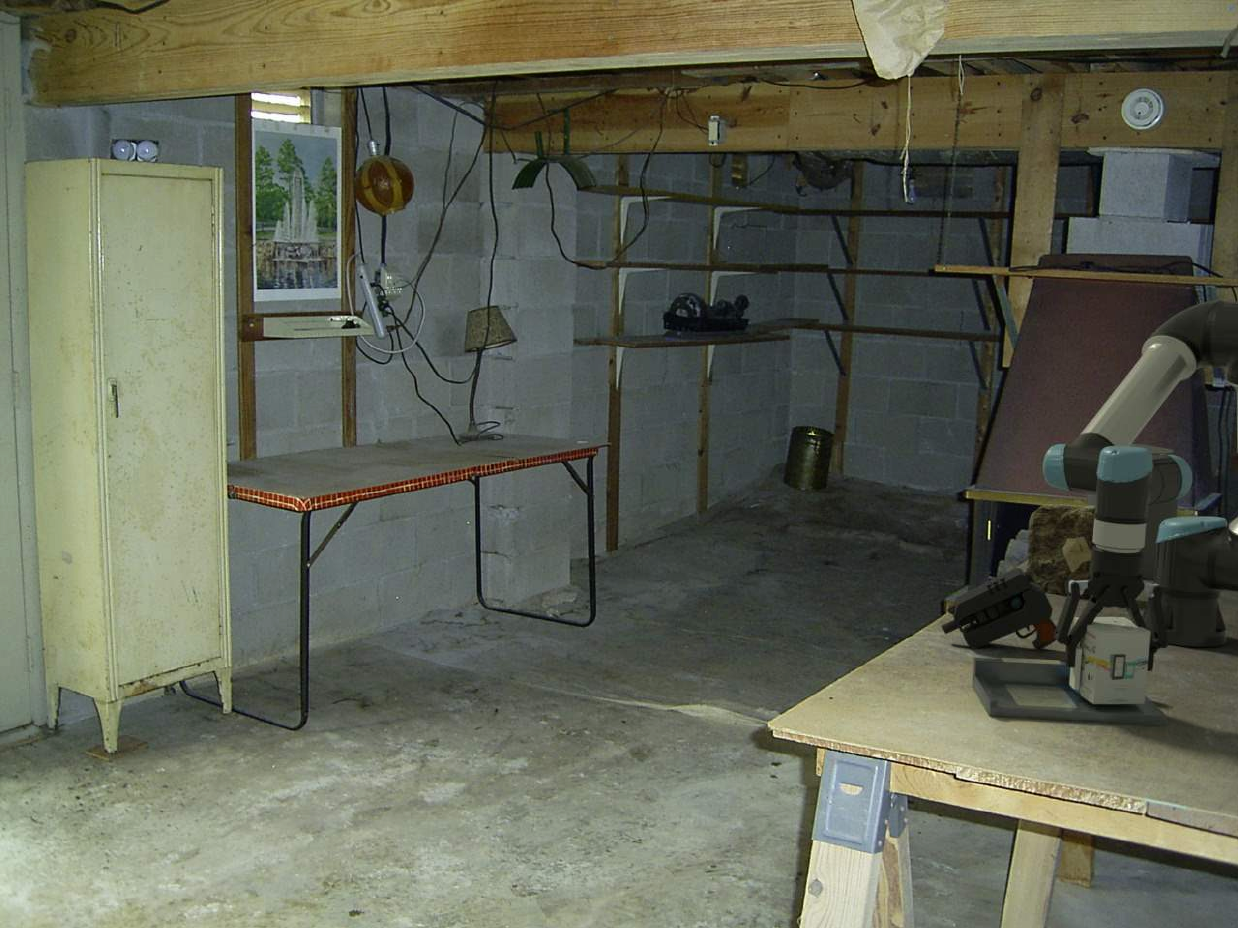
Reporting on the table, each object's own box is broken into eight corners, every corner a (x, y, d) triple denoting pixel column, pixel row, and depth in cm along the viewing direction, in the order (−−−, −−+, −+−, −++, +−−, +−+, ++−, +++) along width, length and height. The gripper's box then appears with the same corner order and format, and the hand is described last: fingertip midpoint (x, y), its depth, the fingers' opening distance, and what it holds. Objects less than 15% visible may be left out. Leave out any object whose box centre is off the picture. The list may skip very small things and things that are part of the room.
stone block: (1112, 593, 266) (1119, 503, 263) (1112, 602, 258) (1119, 510, 255) (1024, 584, 273) (1031, 496, 270) (1021, 592, 264) (1028, 502, 262)
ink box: (1067, 686, 193) (1073, 615, 192) (1118, 686, 194) (1124, 615, 193) (1092, 704, 185) (1098, 630, 183) (1146, 704, 186) (1152, 630, 184)
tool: (1070, 640, 217) (1031, 566, 217) (970, 684, 222) (932, 612, 221) (1065, 631, 223) (1027, 559, 223) (968, 674, 228) (931, 603, 227)
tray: (1135, 695, 197) (1138, 664, 196) (1166, 725, 183) (1169, 692, 182) (972, 687, 199) (974, 656, 198) (989, 716, 185) (991, 683, 185)
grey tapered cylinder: (1139, 558, 302) (1149, 439, 298) (1189, 577, 283) (1201, 450, 278) (1065, 560, 299) (1074, 439, 295) (1111, 579, 279) (1122, 450, 275)
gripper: (1182, 545, 189) (1170, 684, 192) (1038, 539, 191) (1028, 677, 194) (1201, 555, 182) (1187, 700, 185) (1051, 549, 184) (1040, 692, 187)
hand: (1106, 688), depth 189 cm, fingers closed on ink box, 9 cm apart
